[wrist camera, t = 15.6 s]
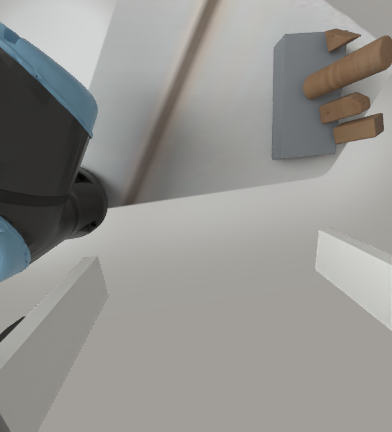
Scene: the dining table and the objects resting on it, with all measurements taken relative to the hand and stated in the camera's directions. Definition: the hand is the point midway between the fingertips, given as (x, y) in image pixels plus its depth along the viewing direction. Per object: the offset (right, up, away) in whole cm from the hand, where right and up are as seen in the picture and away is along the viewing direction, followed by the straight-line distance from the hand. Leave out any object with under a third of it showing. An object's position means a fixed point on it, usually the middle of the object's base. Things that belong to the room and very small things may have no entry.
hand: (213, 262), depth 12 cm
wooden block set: (+23, +25, +24) cm, 41 cm away
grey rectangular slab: (+20, +25, +28) cm, 42 cm away
